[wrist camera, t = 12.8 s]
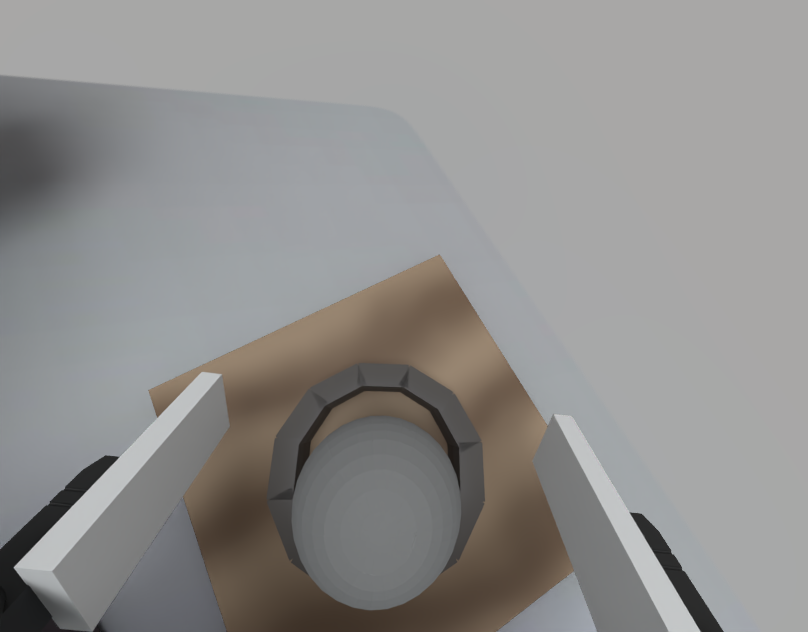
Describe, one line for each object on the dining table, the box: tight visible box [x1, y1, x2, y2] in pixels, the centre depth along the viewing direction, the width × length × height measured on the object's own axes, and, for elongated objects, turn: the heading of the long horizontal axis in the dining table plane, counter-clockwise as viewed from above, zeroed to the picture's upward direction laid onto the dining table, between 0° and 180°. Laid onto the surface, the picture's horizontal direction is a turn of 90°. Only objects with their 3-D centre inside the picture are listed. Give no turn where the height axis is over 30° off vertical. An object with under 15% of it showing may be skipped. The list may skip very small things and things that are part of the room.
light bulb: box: [291, 416, 461, 610], centre depth 14 cm, size 6×6×10 cm
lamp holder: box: [148, 255, 574, 632], centre depth 18 cm, size 20×20×4 cm
